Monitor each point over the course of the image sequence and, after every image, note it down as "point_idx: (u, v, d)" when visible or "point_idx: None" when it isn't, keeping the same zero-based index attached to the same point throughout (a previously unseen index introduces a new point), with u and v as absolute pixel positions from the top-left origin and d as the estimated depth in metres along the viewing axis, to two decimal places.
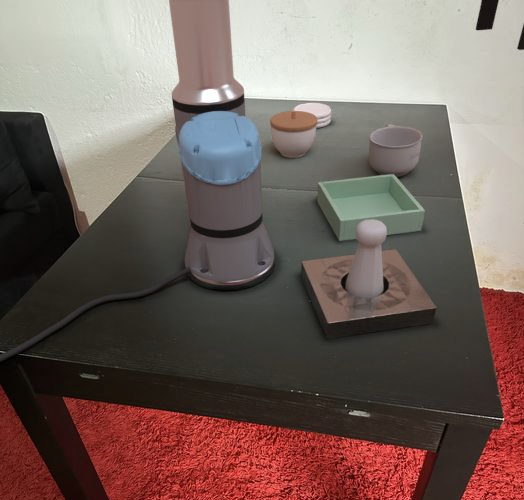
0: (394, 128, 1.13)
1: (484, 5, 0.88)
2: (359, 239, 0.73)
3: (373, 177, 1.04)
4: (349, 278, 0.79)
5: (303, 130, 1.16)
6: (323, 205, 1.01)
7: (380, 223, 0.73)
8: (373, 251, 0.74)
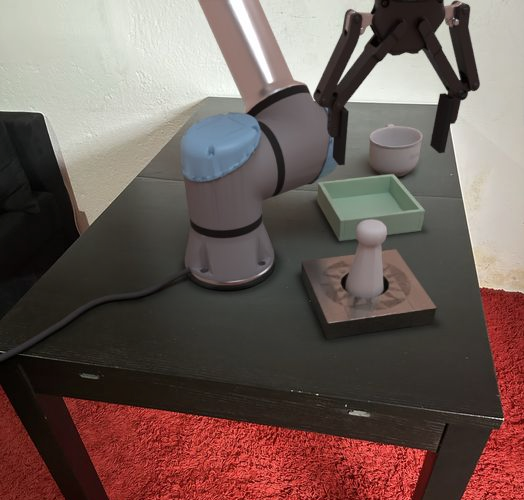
0: (394, 128, 1.13)
1: (436, 118, 0.67)
2: (359, 239, 0.73)
3: (373, 177, 1.04)
4: (349, 278, 0.79)
5: None
6: (323, 205, 1.01)
7: (380, 223, 0.73)
8: (373, 251, 0.74)
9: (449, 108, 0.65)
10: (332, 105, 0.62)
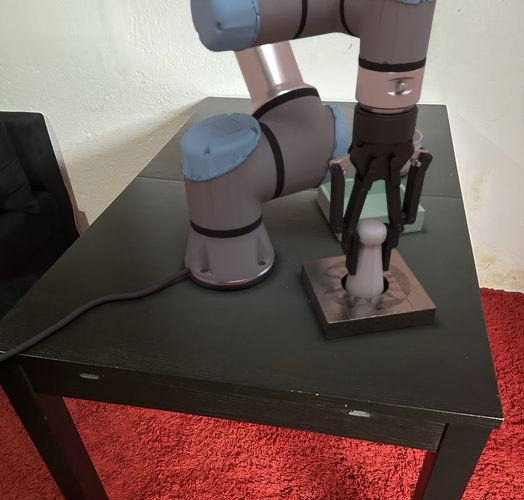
0: None
1: None
2: (359, 239, 0.73)
3: None
4: (349, 278, 0.79)
5: None
6: (323, 205, 1.01)
7: (380, 223, 0.73)
8: (373, 251, 0.74)
9: (389, 238, 0.74)
10: (346, 233, 0.72)
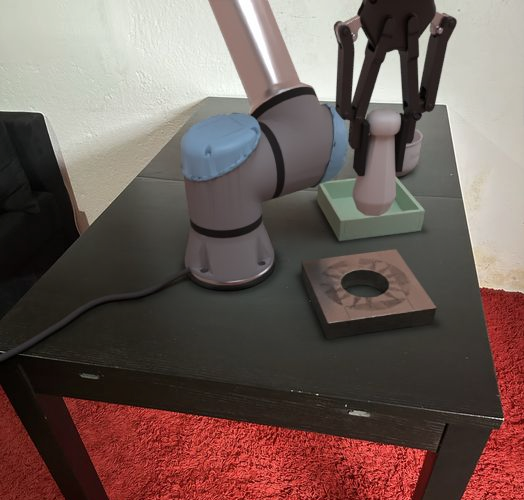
0: None
1: None
2: None
3: None
4: (357, 182, 0.69)
5: None
6: (323, 205, 1.01)
7: (393, 111, 0.64)
8: (385, 144, 0.65)
9: (404, 128, 0.64)
10: (354, 120, 0.63)
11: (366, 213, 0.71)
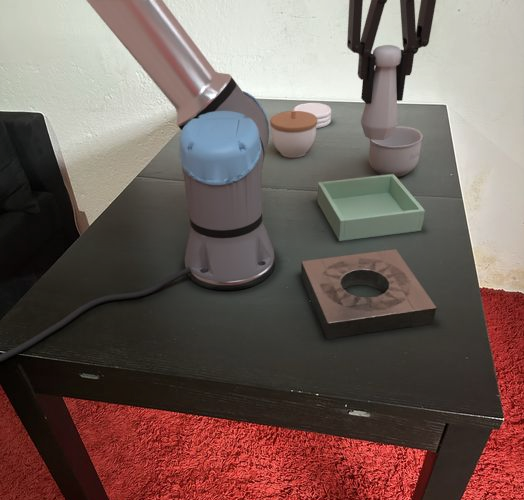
0: None
1: None
2: (375, 62, 0.78)
3: (373, 177, 1.04)
4: (365, 110, 0.83)
5: (303, 130, 1.16)
6: (323, 205, 1.01)
7: (395, 46, 0.78)
8: (388, 75, 0.79)
9: (404, 61, 0.78)
10: (362, 53, 0.77)
11: (372, 137, 0.85)
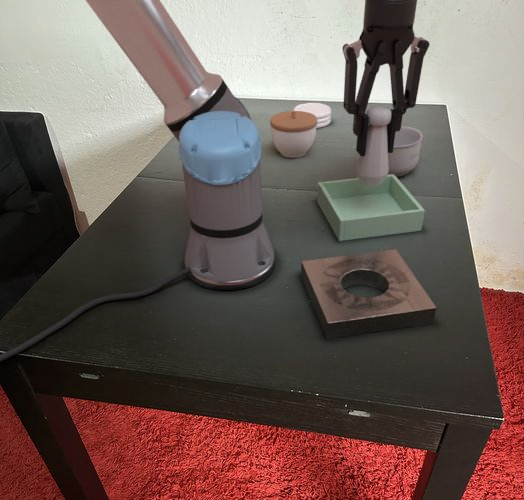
0: None
1: None
2: (368, 121, 0.88)
3: None
4: (359, 160, 0.93)
5: (303, 130, 1.16)
6: (323, 205, 1.01)
7: (386, 107, 0.88)
8: (380, 132, 0.89)
9: (393, 120, 0.88)
10: (357, 114, 0.87)
11: (366, 184, 0.95)
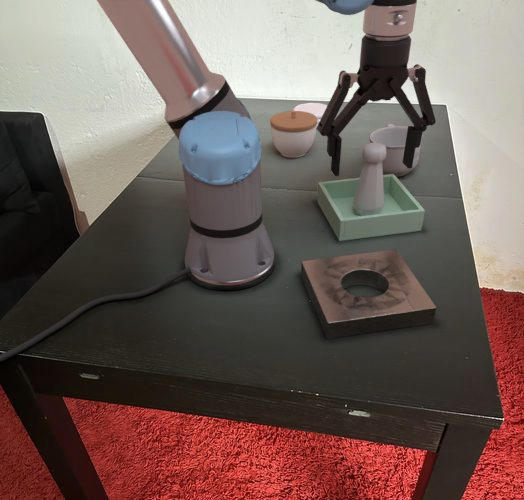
0: (394, 128, 1.13)
1: (406, 143, 0.94)
2: (364, 157, 0.92)
3: None
4: (356, 193, 0.97)
5: (303, 130, 1.16)
6: (323, 205, 1.01)
7: (381, 144, 0.92)
8: (376, 167, 0.93)
9: (414, 137, 0.91)
10: (330, 134, 0.88)
11: (363, 215, 0.99)
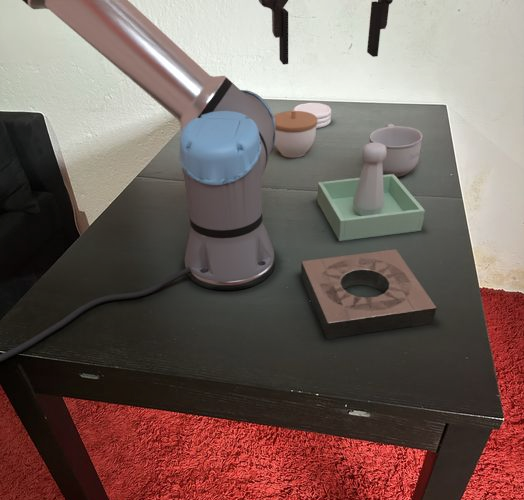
0: (394, 128, 1.13)
1: (370, 25, 0.77)
2: (365, 157, 0.92)
3: None
4: (356, 193, 0.97)
5: (303, 130, 1.16)
6: (323, 205, 1.01)
7: (381, 144, 0.92)
8: (376, 167, 0.93)
9: (378, 13, 0.74)
10: (274, 6, 0.72)
11: (363, 215, 0.99)
